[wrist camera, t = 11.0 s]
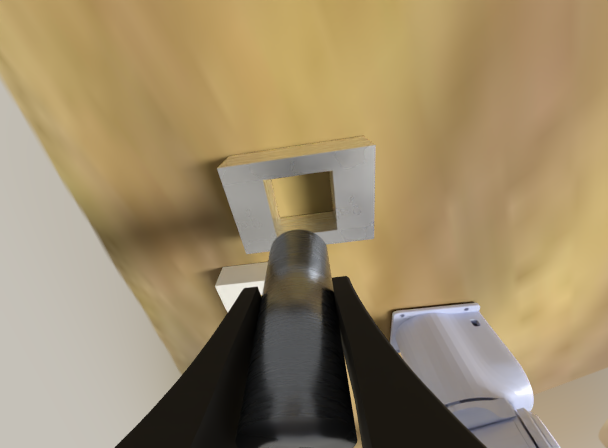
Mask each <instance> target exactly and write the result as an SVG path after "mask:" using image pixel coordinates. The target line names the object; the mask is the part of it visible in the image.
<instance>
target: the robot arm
mask: <svg viewBox="0 0 608 448" xmlns="http://www.w3.org/2000/svg"><path fill="white" fill-rule="evenodd" d="M332 283H333V291H334V298H335V304H336V311H337V316H338V321H339V328H340V334H341V340H342V347H343V352H344V356H345V360H346V364H347V369H348V373H349V377H350V381H351V385H352V389H353V394H354V399H355V404H356V410H357V416H358V422H359V428H360V434H361V441H362V447H363V448H561V447H560V446H559V444H558V443H557V441H556V440H555V439H554V437H553V436H552V435H551V433H550V432H549V430H548V429H547V428H546V427H545V425H544V424H543V422H542V421H541V420H540V418H539V417H538V416H537V415H536V414H534V413H532V412H530V411H531V409H532V407H533V402H534V398H533V391H532V388H531V385H530V383H529V380H528V378H527V376H526V374H525V372H524V370H523V369H522V367H521V365H520V364H519V362H518V361H517V360H516V358H515V357H514V356H513V355H512V353H511V352H510V351H509V349H508V348H507V347H506V346H505V344H504V343H503V342H502V340H501V339H500V338H499V337H498V335H497V334H496V333H495V331H494V330H493V329H492V328H491V326H490V325H489V324H488V322H487V321H486V320H485V319H484V317H483V316H482V315H481V314H480V312H479V310H480V306H479V304H478V303H468V304H458V305H448V306H438V307H428V308H418V309H408V310H398V311H394V312H393V314H392V324H391V335H390V343H389V341H388V340H387V339H386V337H385V336H384V335H383V333H382V332H381V331H380V329H379V328H378V326H377V325H376V324H375V322H374V321H373V319H372V318H371V316H370V315H369V313H368V312H367V310H366V309H365V307H364V305H363V304H362V302H361V300H360V299H359V297H358V295H357V294H356V292H355V290H354V288H353V286H352V284H351V282H350V279H349V278H348V277H347V276H343V277H335V278H332ZM261 298H262V297H261V295H260V292H259V289H258V286H257V287H249V288H244V289H243V290H242V291H241V293H240V294H239V296H238V298H237V299H236V301H235V302H234V304H233V305H232V307H231V309H230V310H229V312H228V313H227V315H226V316H225V318H224V319H223V321H222V322H221V324H220V325H219V327H218V328H217V330H216V331H215V332H214V334H213V335H212V337H211V338H210V340H209V341H208V342H207V344H206V345H205V346H204V348H203V349H202V350H201V352H200V353H199V354H198V356H197V357H196V358H195V360H194V361H193V362H192V363H191V365H190V366H189V367H188V368H187V370H186V371H185V372H184V373H183V375H182V376H181V377H180V378H179V379H178V381H177V382H176V383H175V384H174V385H173V387H172V388H171V389H170V390H169V391H168V392H167V393H166V394H165V395H164V397H163V398H162V399H161V400H160V401H159V402H158V403H157V405H156V406H155V407H154V408H153V409H152V410H151V411H150V412H149V413H148V414H147V415H146V416H145V417H144V419H142V421H141V422H140V423H139V424H138V425H137V426H136V427H135V428H134V429H133V430H132V431H131V432H130V433H129V434H128V435H127V436H126V437H125V438H124V439H123V440H122V441H121V442H120V443H119V444H118V445H117V446H116V447H115V448H238V447H237V445H236V442H235V440H236V434H237V429H238V423H239V418H240V413H241V407H242V402H243V396H244V391H245V385H246V380H247V374H248V369H249V363H250V358H251V353H252V347H253V342H254V336H255V331H256V325H257V320H258V314H259V309H260V304H261ZM400 352H401V355H402V358H403V359H402V358H401V356H400V355H399V354H398V353H400Z"/></svg>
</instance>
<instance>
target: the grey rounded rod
mask: <svg viewBox="0 0 608 448" xmlns="http://www.w3.org/2000/svg"><path fill="white" fill-rule="evenodd" d="M235 442H236V445H237V447H238V448H353V447H354V446H355V445H356V443H357V435H356V429H355V423H354V416H353V410H352V404H351V397H350V391H349V385H348V378H347V372H346V366H345V359H344V353H343V347H342V340H341V334H340V328H339V321H338V316H337V311H336V304H335V298H334V291H333V283H332V277H331V271H330V264H329V258H328V252H327V247H326V244H325V242H324V241H323V239H322V238H321V237H319V236H318V235H317V234H315V233H313V232H311V231H307V230H300V229H297V230H290V231H287V232H284V233H282V234H281V235H279V236H278V237H277V238H276V239H275V240H274V241H273V243H272V245H271V249H270V254H269V260H268V265H267V271H266V276H265V282H264V287H263V293H262V298H261V304H260V309H259V314H258V320H257V325H256V331H255V336H254V342H253V347H252V353H251V358H250V363H249V369H248V374H247V380H246V385H245V391H244V396H243V402H242V407H241V413H240V418H239V423H238V429H237V434H236V440H235Z"/></svg>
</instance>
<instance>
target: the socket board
mask: <svg viewBox="0 0 608 448" xmlns="http://www.w3.org/2000/svg"><path fill="white" fill-rule="evenodd" d="M267 265H268V262H263V263H255V264H246V265H238V266H229V267H223V268H222V271H221V273H220V275H219V278H218V280H217V282H216V284H215V287H216V290H217V292H218V294H219V296H220V298H221V300H222V302H223V304H224V306H225V308H226V310H227V312H229V310H230V309H231V307H232V305H233V304H234V302H235V301H236V299H237V298H238V296H239V294H240V293H241V291H242V290H243V289H244V288H249V287H257V286H258V289H259V292H260V295H262V293H263V287H264V282H265V276H266V271H267Z"/></svg>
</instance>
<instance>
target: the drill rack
mask: <svg viewBox="0 0 608 448" xmlns="http://www.w3.org/2000/svg"><path fill="white" fill-rule="evenodd" d="M217 170H218V173H219V176H220V179H221V182H222V185H223V188H224V191H225V193H226V196H227V199H228V202H229V205H230V208H231V211H232V214H233V217H234V219H235V222H236V225H237V228H238V231H239V234H240V237H241V240H242V243H243V245H244V248H245V251H246V254H251V253H259V252H268V251H270V249H271V245H272V243H273V241H274V240H275V239H276V238H277V237H278V236H279V235H281V234H282V233H284V232H287V231H290V230H297V229H300V230H307V231H311V232H313V233H315V234H317V235H318V236H319V237H321V238H322V239H323V241H324V242H325V244H334V243H342V242H351V241H359V240H367V239H374V202H375V144H374V143H372V142H371V141H370V140H369V139H367V138H366V137H365V136H359V137H352V138H345V139H339V140H332V141H325V142H319V143H312V144H305V145H299V146H292V147H285V148H279V149H272V150H265V151H259V152H252V153H245V154H239V155H232V156H229V157H228V158H227V159H226V160H225V161H224V162H223V163H222V164H221V165H220V166H219V167H218V168H217ZM325 171H329V173H330V185H331V196H332V207H333V211H330V212H322V213H314V214H306V215H299V216H291V217H283V218H280V216H279V211H278V207H277V202H276V198H275V194H274V189H273V185H272V180H271V179H275V178H282V177H290V176H297V175H304V174H311V173H318V172H325Z"/></svg>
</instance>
